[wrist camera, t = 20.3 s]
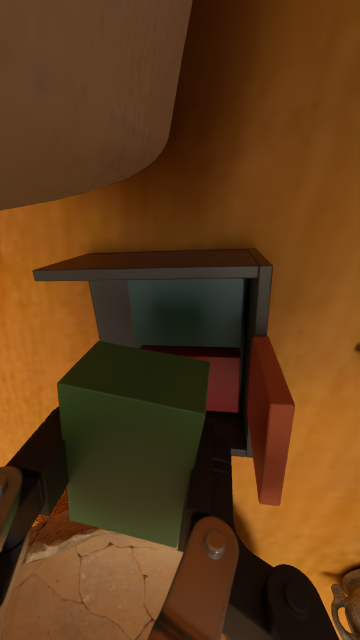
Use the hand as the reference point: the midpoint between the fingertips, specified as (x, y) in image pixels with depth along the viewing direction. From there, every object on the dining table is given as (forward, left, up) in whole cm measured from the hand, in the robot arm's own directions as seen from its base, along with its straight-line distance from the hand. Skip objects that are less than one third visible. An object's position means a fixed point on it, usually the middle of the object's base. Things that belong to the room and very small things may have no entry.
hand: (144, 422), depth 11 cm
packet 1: (-3, 0, -9) cm, 10 cm away
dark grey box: (0, -1, -10) cm, 10 cm away
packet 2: (+2, +2, -9) cm, 10 cm away
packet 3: (0, 0, 0) cm, 0 cm away
